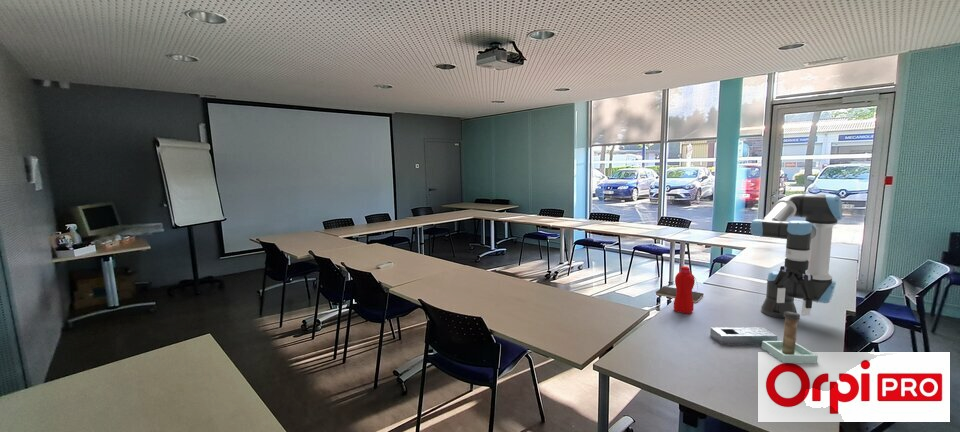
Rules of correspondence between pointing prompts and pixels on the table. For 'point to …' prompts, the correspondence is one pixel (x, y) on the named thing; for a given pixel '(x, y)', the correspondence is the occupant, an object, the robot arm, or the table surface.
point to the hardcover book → (673, 291)
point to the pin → (790, 332)
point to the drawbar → (742, 335)
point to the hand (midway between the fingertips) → (792, 308)
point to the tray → (798, 357)
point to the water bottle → (684, 291)
